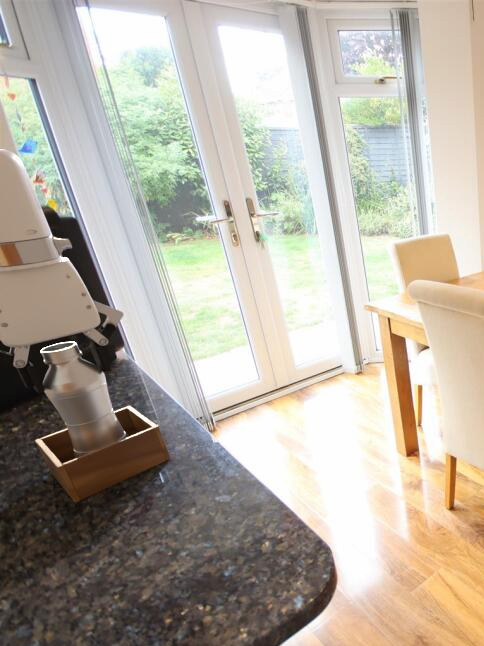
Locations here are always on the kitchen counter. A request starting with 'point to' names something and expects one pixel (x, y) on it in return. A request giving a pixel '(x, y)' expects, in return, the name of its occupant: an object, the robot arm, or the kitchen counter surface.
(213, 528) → the kitchen counter surface
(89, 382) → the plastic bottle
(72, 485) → the holder
